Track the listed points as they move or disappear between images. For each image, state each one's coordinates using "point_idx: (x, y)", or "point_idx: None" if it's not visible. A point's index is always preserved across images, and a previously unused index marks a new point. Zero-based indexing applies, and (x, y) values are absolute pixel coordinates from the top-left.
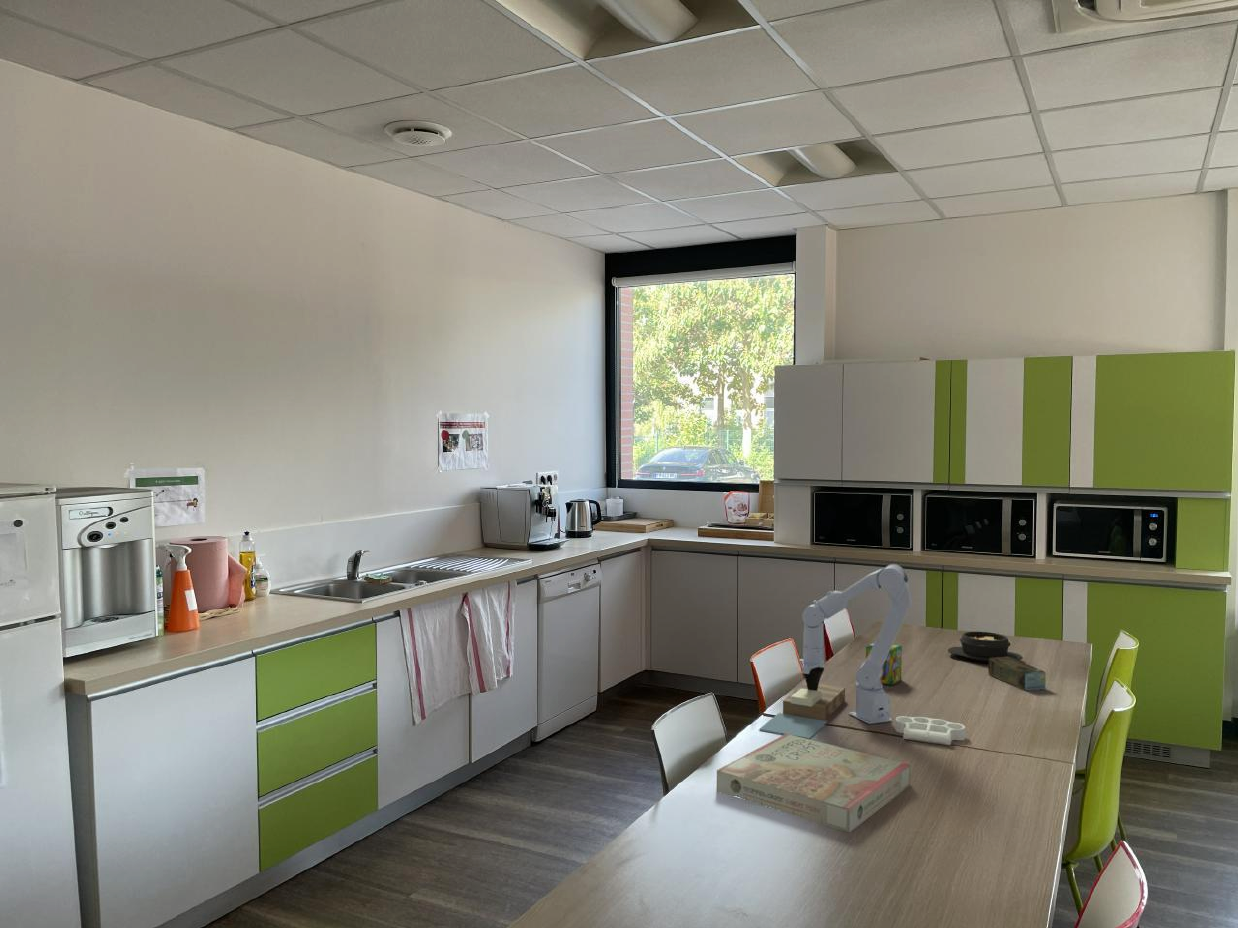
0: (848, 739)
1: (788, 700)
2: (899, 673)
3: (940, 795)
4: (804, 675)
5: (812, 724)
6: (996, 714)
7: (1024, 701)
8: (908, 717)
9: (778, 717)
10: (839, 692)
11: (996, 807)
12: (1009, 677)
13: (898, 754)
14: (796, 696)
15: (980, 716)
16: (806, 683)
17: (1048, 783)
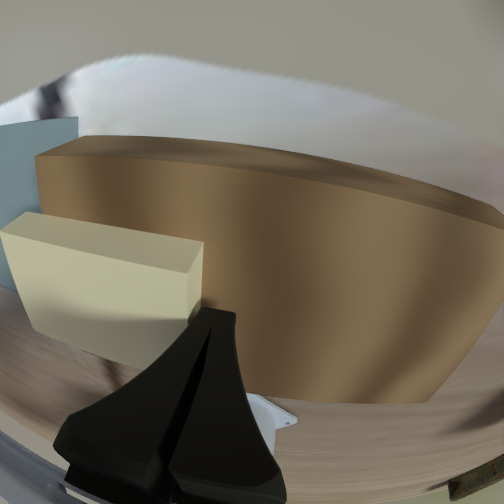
0: (42, 351)
1: (51, 185)
2: None
3: (5, 394)
4: (105, 401)
5: None
6: (338, 491)
7: (403, 490)
8: None
9: (28, 142)
10: (348, 400)
11: (26, 419)
12: (476, 475)
13: (54, 400)
14: (14, 260)
15: (323, 487)
16: (167, 348)
17: None
